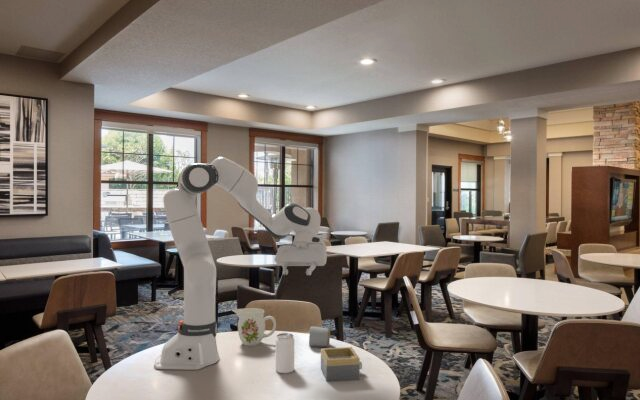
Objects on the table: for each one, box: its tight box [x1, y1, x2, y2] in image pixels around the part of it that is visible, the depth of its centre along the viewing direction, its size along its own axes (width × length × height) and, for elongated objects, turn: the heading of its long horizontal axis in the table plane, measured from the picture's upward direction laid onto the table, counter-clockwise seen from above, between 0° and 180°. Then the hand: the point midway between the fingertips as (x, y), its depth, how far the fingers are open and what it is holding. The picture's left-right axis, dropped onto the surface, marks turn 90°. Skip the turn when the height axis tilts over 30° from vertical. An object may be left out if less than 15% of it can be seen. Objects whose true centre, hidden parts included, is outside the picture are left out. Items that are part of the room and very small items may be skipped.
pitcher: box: [231, 307, 277, 347], centre depth 180 cm, size 11×18×14 cm, turn 94°
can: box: [275, 332, 295, 375], centre depth 152 cm, size 6×6×12 cm
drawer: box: [320, 346, 363, 383], centre depth 149 cm, size 13×11×7 cm
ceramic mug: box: [308, 325, 331, 348], centre depth 179 cm, size 11×8×8 cm
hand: (296, 274), depth 163 cm, fingers open, 8 cm apart
